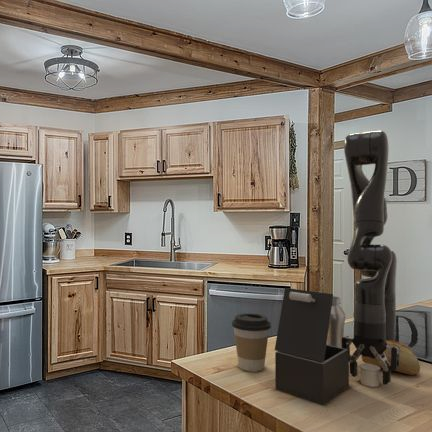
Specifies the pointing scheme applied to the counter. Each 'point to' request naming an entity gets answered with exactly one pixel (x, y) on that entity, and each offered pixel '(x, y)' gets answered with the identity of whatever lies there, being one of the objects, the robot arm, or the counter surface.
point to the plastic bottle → (336, 324)
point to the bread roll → (406, 359)
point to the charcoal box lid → (304, 323)
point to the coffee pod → (369, 375)
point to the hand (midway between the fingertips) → (369, 380)
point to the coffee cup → (251, 340)
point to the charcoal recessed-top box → (313, 374)
